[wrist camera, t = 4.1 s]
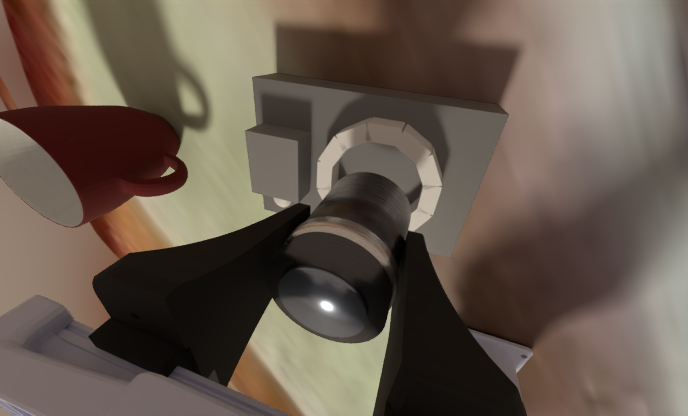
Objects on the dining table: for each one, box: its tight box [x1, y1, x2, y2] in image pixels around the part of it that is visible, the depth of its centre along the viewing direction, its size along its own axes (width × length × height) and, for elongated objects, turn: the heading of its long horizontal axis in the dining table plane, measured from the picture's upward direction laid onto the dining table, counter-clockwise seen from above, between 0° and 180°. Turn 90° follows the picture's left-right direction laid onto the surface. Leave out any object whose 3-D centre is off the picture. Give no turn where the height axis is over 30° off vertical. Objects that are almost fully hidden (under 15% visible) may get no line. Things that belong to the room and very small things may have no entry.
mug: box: [0, 106, 188, 228], centre depth 21 cm, size 11×8×10 cm
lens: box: [266, 172, 411, 343], centre depth 11 cm, size 5×5×6 cm
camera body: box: [245, 73, 509, 258], centre depth 18 cm, size 10×15×5 cm, turn 85°
